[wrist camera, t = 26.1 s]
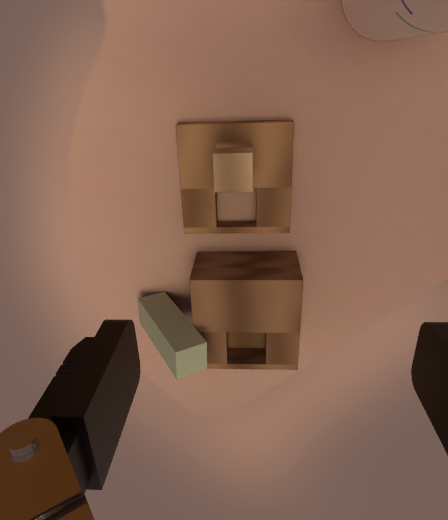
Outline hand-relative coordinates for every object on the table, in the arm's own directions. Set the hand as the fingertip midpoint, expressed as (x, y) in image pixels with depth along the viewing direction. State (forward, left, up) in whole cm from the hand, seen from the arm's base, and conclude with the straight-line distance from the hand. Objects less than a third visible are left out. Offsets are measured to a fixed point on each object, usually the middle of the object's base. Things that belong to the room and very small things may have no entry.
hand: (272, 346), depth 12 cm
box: (+1, +15, -28) cm, 32 cm away
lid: (+2, +2, -28) cm, 28 cm away
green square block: (+6, +16, -19) cm, 26 cm away
